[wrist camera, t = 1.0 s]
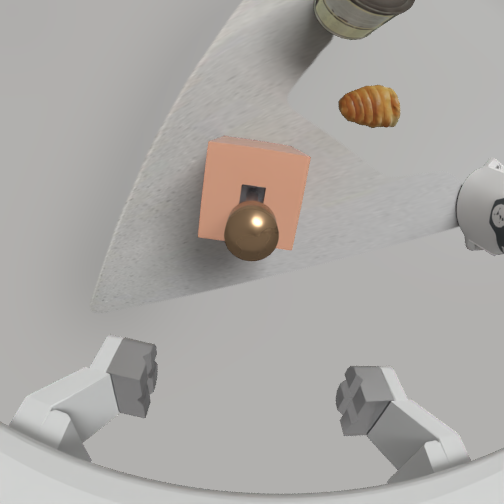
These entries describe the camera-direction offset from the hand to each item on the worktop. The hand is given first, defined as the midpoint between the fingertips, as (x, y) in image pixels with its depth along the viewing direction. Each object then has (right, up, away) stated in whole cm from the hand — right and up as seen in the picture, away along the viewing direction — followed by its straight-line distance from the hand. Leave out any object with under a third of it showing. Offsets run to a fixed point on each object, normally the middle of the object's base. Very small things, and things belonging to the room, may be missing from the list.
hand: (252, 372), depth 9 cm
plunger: (0, +10, +23) cm, 25 cm away
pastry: (+18, +26, +32) cm, 45 cm away
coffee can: (+14, +40, +25) cm, 50 cm away
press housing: (0, +15, +36) cm, 39 cm away
